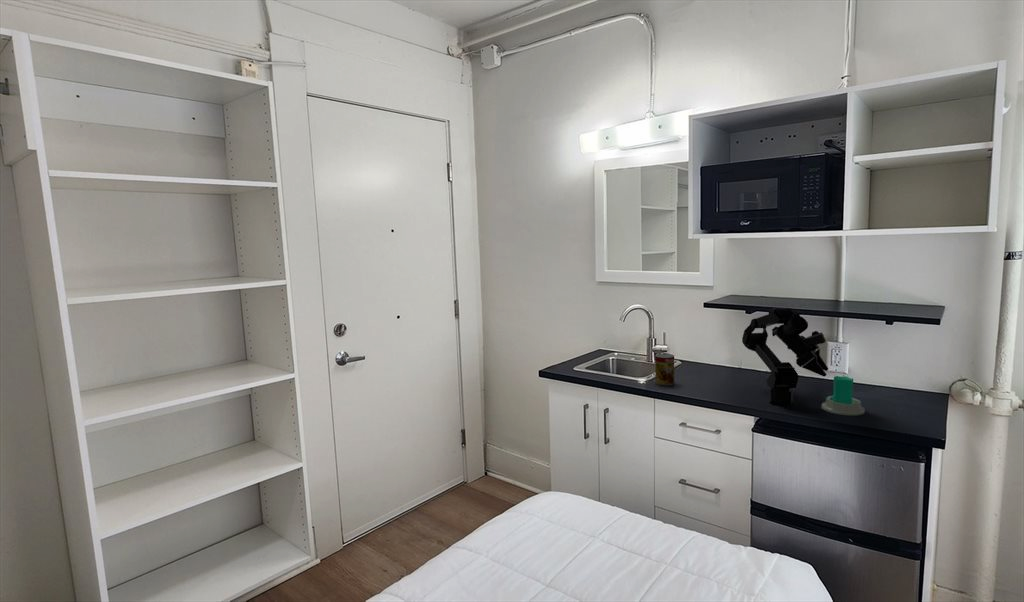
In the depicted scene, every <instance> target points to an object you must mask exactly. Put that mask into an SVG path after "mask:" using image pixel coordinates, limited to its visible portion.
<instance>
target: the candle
mask: <svg viewBox="0 0 1024 602" xmlns="http://www.w3.org/2000/svg"><path fill="white" fill-rule="evenodd" d="M844 375H845V374H844V373H843V376H841V375H840V376H839V375H835V376H834V377H833V389H832V390H833V392H832V393H833V394H832V396H833V401H834V402H839V403H845V404H850V403H852V398H854V396H853V395H854V394H853V393H854V392H853V391H854V378H853V377H852V378H851V377H849V376H844Z"/></svg>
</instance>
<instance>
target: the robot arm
mask: <svg viewBox="0 0 1024 602" xmlns="http://www.w3.org/2000/svg"><path fill="white" fill-rule="evenodd" d="M773 325H779V326H774V327H773V328H772V329H771V331H772V333H771V335H772V337H777V338H778V339H779V340H780V341H781V342H782V343H783V344H784V345H785V346H787V347H786V348H787V350H790V351H791V352H792V353H794V354H795V355H796V356H795V357H796V359H795V364H796V365H797V366H798V367H799V368H802V369H805V370H807V371H809V372H812V373H815V374H817V375H819V376H820V377H821V376H822V377H823V378H824V377H825V376H827V373H826V371H828V370H829V367H828V366H827V364H826V363H825V362H824V360H823V358H822V356H821V348H820V346H819V345H822V344H825V343H826V341H827V339H826V338H825V336H824V335H825V334H823V332H819V331H818V330H814V331H812V332H811V335H809V336H807V337H805V336H804V335H801V334H802V333H803V332H805V331H806V330H808V328H809V322H808V321H807V320H806V319H805V318H804V317H802V316H801V315H800V313H795V312H794V311H793V310H792V308H791V307H781V308H778V307H777V308H771V309H770V310H769V311H768V313H767V314H765V315H762V316H758V317H757V318H755V317H754V318H752V319H751V321H750V324H748V326H747V327H746V328H745V329H744V331H743V335H742V337H741V338H742V339H741V340H742V341H741V342H742V344H743V346H744V347H745V348H746V349H747V350H749V351H752V352H755V353H756V355H757V356H758V357H759V358H760V359H761V361H762V362H763V363H764V365H766V367H767V368H768V369H769V371H770V375H769V376H768V378H767V379H766V385H767V386H768V387H770V389H771V390H770V401H769V402H768V403H769V404H772V405H777V406H783V407H789V406H790V405H791V404H792V403H794V392H793V391H792V389H796V388H797V385H798V381H799V378H800V377H799V374H798V373H797V370H796V368H795V367H794V366H793V365H792V363H790V362H786V361H783V362H782V361H781V360H780V359H779V358H778V357H777V356H776V354H775V353H774V352H773V351H772V350H771V348H770V347H769V346H768V345H767V341H768V340H767V339H768V337H769V334H768V331H767V327H770V326H773ZM756 329H762V332H754V331H755V330H756Z"/></svg>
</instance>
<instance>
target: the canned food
mask: <svg viewBox="0 0 1024 602" xmlns="http://www.w3.org/2000/svg"><path fill="white" fill-rule="evenodd" d="M654 359H655V360H654V366H655V367H654V373H655V374H654V375H655V377H654V380H655V384H657V385H660V386H672V385H674V384H675V355H674V354H671V353H656V354H655V357H654Z"/></svg>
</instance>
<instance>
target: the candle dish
mask: <svg viewBox="0 0 1024 602" xmlns="http://www.w3.org/2000/svg"><path fill="white" fill-rule="evenodd" d="M821 409H822V410H824V411H826V412H828V413H831V414H835V415H841V416H851V417H852V416H853V417H855V416H862V415H864V414H865V412H866V409H865V407H863V406H862V401H861V400H859V399H858V398H857V399H856V398H855V397H852V403H850V404H845V403H839V402H834V401H833V395H829V396H827V397H826V398H825V402H822V403H821Z"/></svg>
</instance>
